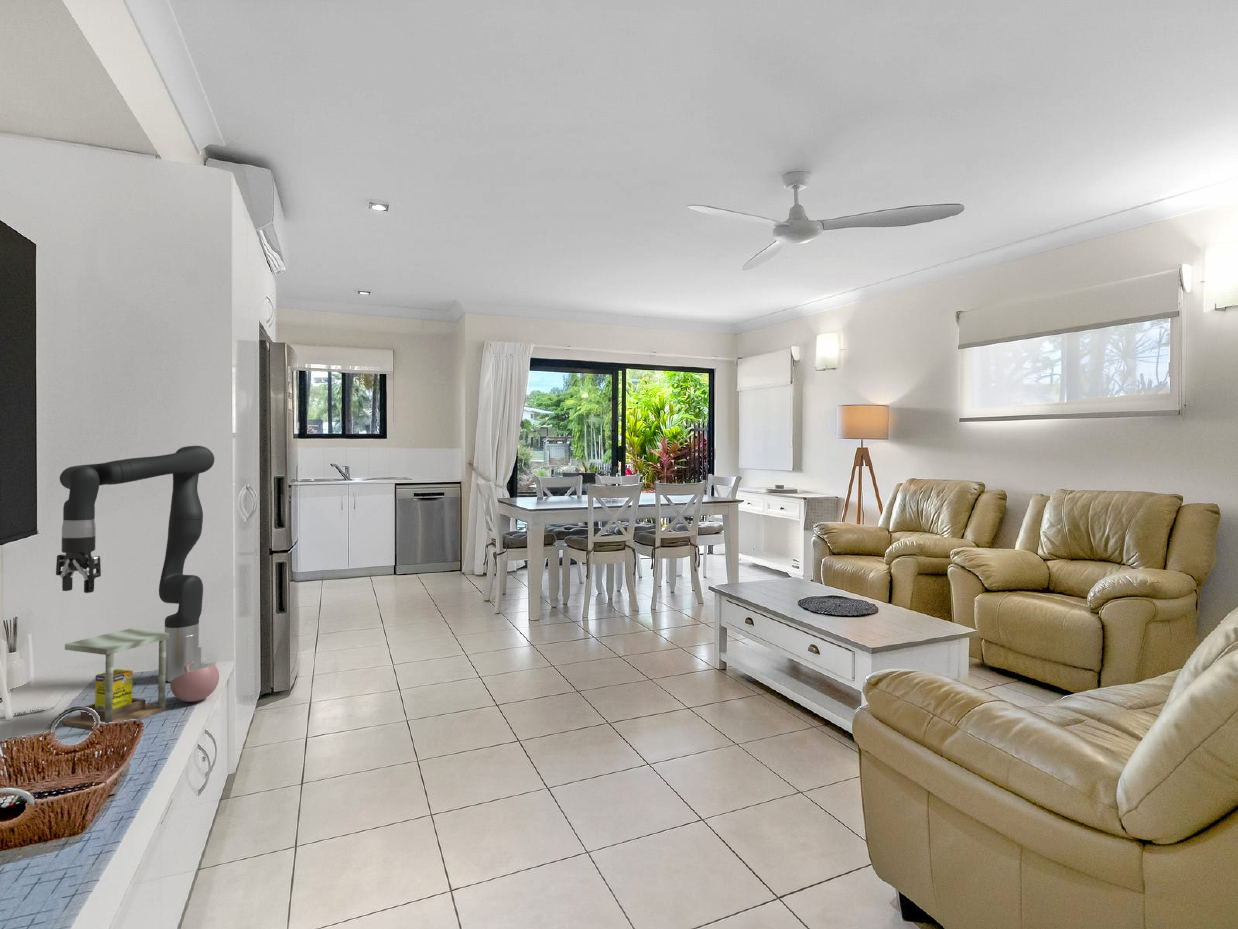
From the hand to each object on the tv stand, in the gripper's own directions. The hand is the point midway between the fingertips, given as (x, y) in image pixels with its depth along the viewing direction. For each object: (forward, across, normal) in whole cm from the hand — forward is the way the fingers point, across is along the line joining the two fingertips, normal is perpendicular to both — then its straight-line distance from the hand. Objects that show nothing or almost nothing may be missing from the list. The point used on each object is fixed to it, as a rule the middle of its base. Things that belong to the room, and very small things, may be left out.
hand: (77, 591), depth 187 cm
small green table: (+32, -20, +4) cm, 38 cm away
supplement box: (+31, -20, +4) cm, 37 cm away
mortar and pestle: (+32, -30, -12) cm, 46 cm away
